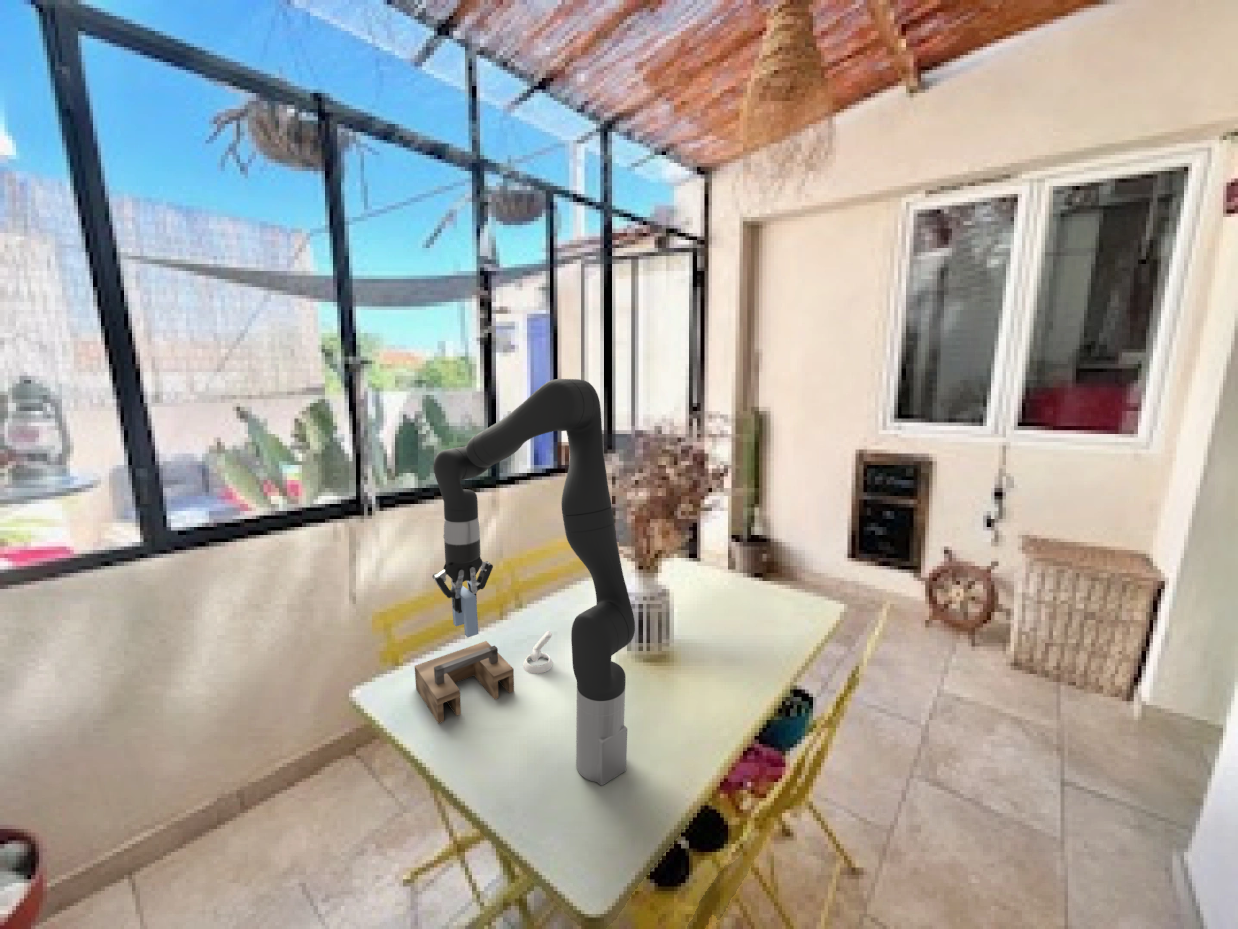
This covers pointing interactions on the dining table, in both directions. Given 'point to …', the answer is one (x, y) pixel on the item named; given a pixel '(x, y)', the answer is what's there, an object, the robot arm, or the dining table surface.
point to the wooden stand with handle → (461, 676)
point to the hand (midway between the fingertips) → (465, 609)
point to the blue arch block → (467, 613)
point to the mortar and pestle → (538, 654)
